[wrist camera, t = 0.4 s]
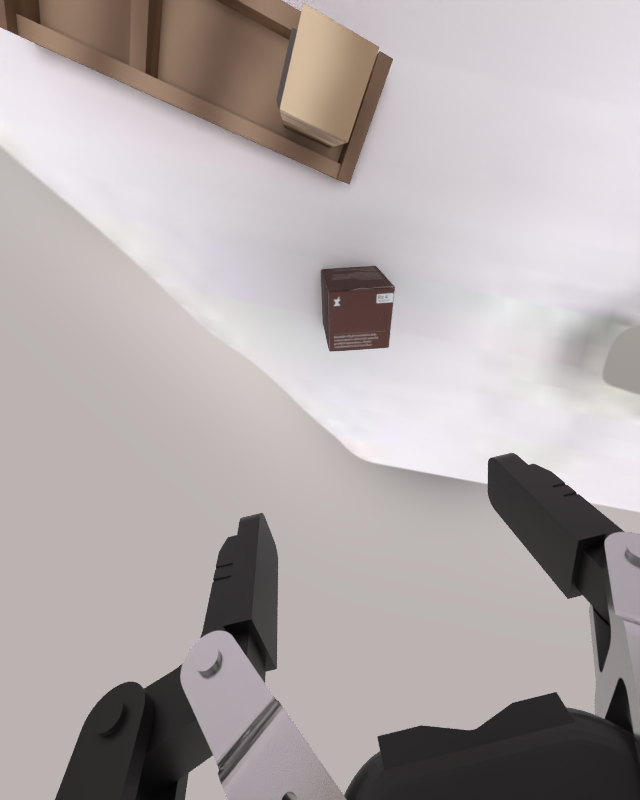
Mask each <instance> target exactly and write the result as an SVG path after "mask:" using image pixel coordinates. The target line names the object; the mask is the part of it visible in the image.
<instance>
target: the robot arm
mask: <svg viewBox="0 0 640 800" xmlns="http://www.w3.org/2000/svg"><path fill="white" fill-rule="evenodd" d="M488 496H489V499H490V502H491V504H492V506H493V508H494V509H495V510H496V512H497V513H498V514H499V515H500V517H501V518H502V519H503V520H504V522H505V523H506V524H507V525H508V526H509V528H510V529H511V530H512V531H513V532H514V534H515V535H516V536H517V537H518V538H519V540H520V541H521V542H522V543H523V545H524V546H525V547H526V548H527V550H528V551H529V552H530V553H531V554H532V556H533V557H534V558H535V559H536V561H537V562H538V563H539V564H540V565H541V567H542V568H543V569H544V570H545V571H546V573H547V574H548V575H549V576H550V577H551V579H552V580H553V581H554V582H555V584H556V585H557V586H558V587H559V589H560V590H561V591H562V592H563V593H564V594H565V596H566V597H567V598H568V599H569V598H573V597H577V596H581V595H583V596H584V597H585V598H586V599H587V600H588V601H589V602H590V608H589V613H590V623H591V633H592V644H593V654H594V664H595V675H596V693H595V715H593V714H591V713H588V712H585V711H581V710H577V709H572V708H566V707H565V706H564V704H563V702H562V701H561V699H560V698H559V696H558V694H557V693H556V692H555V693H551V694H547V695H543V696H539V697H535V698H531V699H527V700H523V701H519V702H515V703H512V704H510V705H509V706H508V707H506V708H505V709H504V710H502V711H501V712H499V713H498V714H496V715H495V716H494V717H492V718H491V719H490V720H488V721H487V722H485V723H484V724H483V725H481V726H480V727H478V728H477V729H475V730H459V729H450V728H440V727H430V726H418V727H414V728H410V729H406V730H402V731H398V732H394V733H390V734H385V735H381V736H378V742H379V747H380V752H378V753H377V754H375V755H374V756H373V757H371V758H370V759H369V760H368V761H367V762H366V763H365V764H364V765H363V766H362V768H361V769H360V770H359V771H358V773H357V774H356V776H355V777H354V778H353V780H352V782H351V784H350V785H349V787H348V789H347V790H346V793H345V795H343V794H342V792H341V791H340V789H339V788H338V786H337V785H336V783H335V782H334V780H333V779H332V778H331V776H330V775H329V773H328V772H327V770H326V769H325V768H324V766H323V764H322V763H321V762H320V760H319V759H318V757H317V756H316V754H315V753H314V751H313V750H312V749H311V747H310V746H309V744H308V743H307V741H306V740H305V738H304V737H303V736H302V734H301V733H300V731H299V730H298V728H297V727H296V725H295V724H294V722H293V721H292V719H291V718H290V717H289V715H288V714H287V712H286V711H285V709H284V708H283V707H282V705H281V704H280V703H279V701H277V700H276V699H275V697H274V696H273V695H272V693H271V692H270V690H269V689H268V687H267V686H266V684H265V672H266V671H270V670H274V669H276V668H277V604H278V602H277V600H278V555H277V550H276V545H275V542H274V539H273V537H272V534H271V532H270V529H269V527H268V524H267V521H266V519H265V517H264V515H263V513H260V514H256V515H252V516H247V517H243V518H241V519H240V522H239V528H238V535H236V536H232V537H228V538H227V540H226V541H225V543H224V545H223V546H222V548H221V550H220V551H219V555H218V560H217V564H216V570H215V574H214V579H213V580H214V582H213V584H212V588H211V594H210V598H209V603H208V608H207V613H206V618H205V622H204V627H203V632H202V635H201V638H200V639H199V640H198V641H197V642H196V643H195V644H194V645H193V646H192V648H191V649H190V650H189V652H188V653H187V655H186V657H185V659H184V662H183V664H182V665H180V666H179V667H178V668H177V669H175V670H174V671H172V672H171V673H169V674H167V675H166V676H164V677H162V678H161V679H159V680H157V681H156V682H154V683H153V684H151V685H149V686H148V687H147V688H144V689H143V687H142V686H141V685H140V684H138V683H136V682H127V683H123V684H120V685H119V686H117V687H115V688H113V689H112V690H111V691H109V692H108V693H107V694H106V695H105V696H103V698H102V699H101V700H100V701H99V702H98V703H97V704H96V705H95V707H94V708H93V709H92V711H91V712H90V714H89V715H88V717H87V719H86V721H85V723H84V725H83V727H82V730H81V732H80V735H79V738H78V740H77V743H76V746H75V748H74V751H73V754H72V756H71V759H70V762H69V764H68V767H67V770H66V772H65V775H64V777H63V780H62V783H61V785H60V788H59V791H58V793H57V796H56V799H55V800H185V794H186V787H187V780H188V773H189V772H190V771H191V770H193V769H194V768H196V767H197V766H198V765H200V764H201V763H203V762H204V761H205V760H207V759H208V758H210V757H211V756H212V755H213V756H214V758H215V760H216V762H217V765H218V768H219V772H218V775H219V778H220V782H221V784H222V787H223V789H224V792H225V794H226V796H227V798H228V800H640V534H637V533H632V532H624V531H623V530H622V529H620V528H619V527H618V526H617V525H615V524H614V523H613V522H612V521H610V520H609V519H608V518H607V517H606V516H605V515H603V514H602V513H601V512H600V511H598V510H597V509H596V508H595V507H594V506H592V505H591V504H590V503H589V502H588V501H586V500H585V499H584V498H583V497H581V496H580V495H579V494H578V495H577V494H576V492H575V491H574V490H573V489H572V488H571V487H569V486H568V485H565V483H564V482H563V481H562V480H561V479H560V478H558V477H557V476H556V475H555V474H554V473H552V472H551V471H549V470H547V469H544V468H542V467H540V466H538V465H536V464H531V465H528V464H527V463H525V462H524V461H523V460H522V459H521V458H520V457H519V456H517V455H516V454H514V453H509V454H505V455H501V456H497V457H493V458H490V459H489V461H488Z"/></svg>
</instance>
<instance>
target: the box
mask: <svg viewBox="0 0 640 800" xmlns="http://www.w3.org/2000/svg"><path fill="white" fill-rule="evenodd" d="M321 287H322V313H323V325H324V329H325V334H326V339H327V344H328V348H329V351H346V350H360V349H374V348H388V347H389V339H390V328H391V318H392V308H393V299H394V290H395V287H394V286H393V285H392V284H391V282H390V281H389V280H388V279H387V278H386V277H385V276H384V274H383V273H382V272H381V271H380V270H379V269H378V268H377V267H376V266H371V267H353V268H337V269H323V270H321Z"/></svg>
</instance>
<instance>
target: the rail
mask: <svg viewBox="0 0 640 800" xmlns="http://www.w3.org/2000/svg"><path fill="white" fill-rule="evenodd" d="M0 27H1V28H3V29H5V30H8V31H10V32H12V33H14V34H16V35H18V36H21V37H23V38H25V39H27V40H29V41H31V42H34V43H36V44H38V45H40V46H42V47H45V48H47V49H49V50H51V51H54V52H56V53H58V54H60V55H62V56H65V57H67V58H69V59H71V60H74V61H76V62H78V63H80V64H82V65H85V66H87V67H89V68H91V69H94V70H96V71H98V72H100V73H102V74H105V75H107V76H109V77H111V78H114V79H116V80H118V81H120V82H122V83H125V84H127V85H129V86H131V87H134V88H136V89H138V90H140V91H142V92H145V93H147V94H149V95H151V96H154V97H156V98H158V99H160V100H162V101H165V102H167V103H169V104H171V105H174V106H176V107H178V108H180V109H182V110H185V111H187V112H189V113H191V114H194V115H196V116H198V117H200V118H202V119H205V120H207V121H209V122H211V123H214V124H216V125H218V126H220V127H222V128H225V129H227V130H229V131H231V132H234V133H236V134H238V135H240V136H242V137H245V138H247V139H249V140H251V141H254V142H256V143H258V144H260V145H262V146H265V147H267V148H269V149H271V150H274V151H276V152H278V153H280V154H282V155H285V156H287V157H289V158H291V159H294V160H296V161H298V162H300V163H302V164H305V165H307V166H309V167H311V168H314V169H316V170H318V171H320V172H322V173H325V174H327V175H329V176H331V177H334V178H336V179H338V180H340V181H342V182H345V183H348V184H349V183H350V181H351V178H352V175H353V172H354V169H355V166H356V163H357V161H358V158H359V155H360V152H361V149H362V146H363V143H364V141H365V138H366V135H367V132H368V129H369V126H370V123H371V121H372V118H373V115H374V112H375V109H376V106H377V103H378V101H379V98H380V95H381V92H382V89H383V86H384V83H385V81H386V78H387V75H388V72H389V69H390V66H391V63H392V61H393V59H392V58H391V57H389V56H387V55H385V54H384V53H382V52H379V53H378V54H377V52H378V49H379V47H378V46H376V45H375V44H373V43H371V42H370V41H368V40H366V39H364V38H363V37H361V36H359V35H358V34H356V33H354V32H352V31H351V30H349V29H347V28H346V27H344V26H342V25H340V24H339V23H337V22H335V21H334V20H332V19H330V18H328V17H327V16H325V15H323V14H322V13H320V12H318V11H316V10H315V9H313V8H311V7H310V6H308V5H306V4H304V3H303V8H302V12H301V11H299V10H297V9H295V8H294V7H292V6H290V5H288V4H287V3H285V2H283V1H282V0H0Z"/></svg>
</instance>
